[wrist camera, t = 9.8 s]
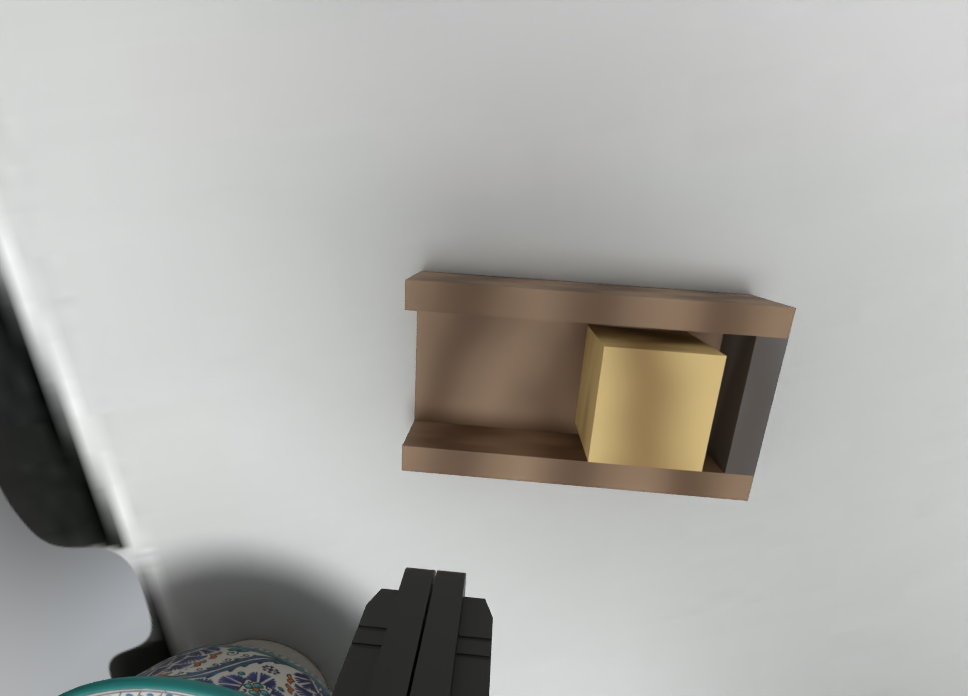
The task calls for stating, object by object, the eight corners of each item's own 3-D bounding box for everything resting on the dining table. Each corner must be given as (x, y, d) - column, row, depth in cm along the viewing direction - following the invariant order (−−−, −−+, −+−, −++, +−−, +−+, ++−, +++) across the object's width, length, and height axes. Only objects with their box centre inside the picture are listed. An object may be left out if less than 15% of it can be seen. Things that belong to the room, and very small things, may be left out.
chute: (750, 294, 27) (795, 307, 23) (713, 461, 30) (747, 500, 26) (421, 271, 28) (405, 279, 24) (417, 436, 31) (401, 470, 27)
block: (688, 332, 27) (726, 356, 22) (669, 430, 29) (701, 471, 24) (587, 324, 27) (604, 346, 23) (575, 422, 29) (587, 461, 24)
